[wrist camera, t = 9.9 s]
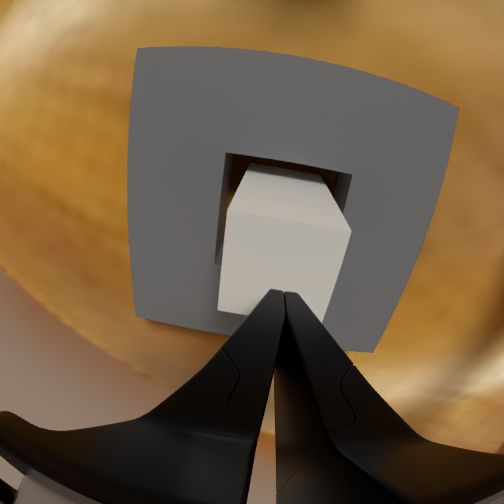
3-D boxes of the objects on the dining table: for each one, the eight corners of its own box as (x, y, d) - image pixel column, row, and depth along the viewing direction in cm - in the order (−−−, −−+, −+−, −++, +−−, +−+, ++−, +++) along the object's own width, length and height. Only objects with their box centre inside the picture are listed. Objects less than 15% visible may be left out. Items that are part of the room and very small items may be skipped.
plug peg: (320, 175, 16) (351, 231, 9) (306, 238, 18) (320, 325, 11) (250, 163, 16) (227, 209, 9) (241, 227, 18) (217, 310, 11)
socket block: (432, 105, 13) (458, 107, 11) (364, 324, 21) (372, 352, 18) (159, 56, 14) (137, 48, 11) (151, 291, 21) (136, 316, 18)
